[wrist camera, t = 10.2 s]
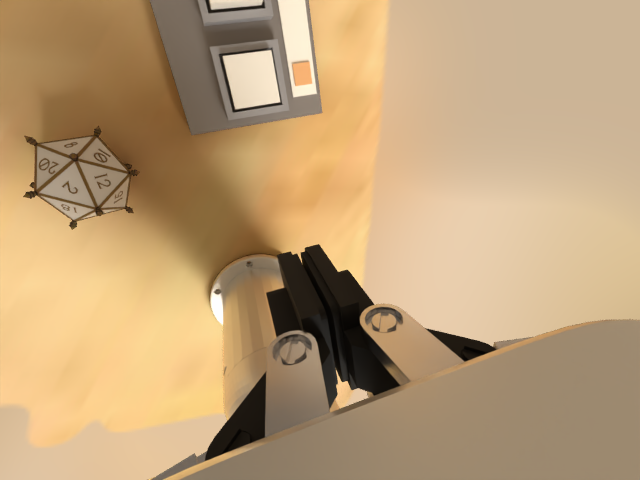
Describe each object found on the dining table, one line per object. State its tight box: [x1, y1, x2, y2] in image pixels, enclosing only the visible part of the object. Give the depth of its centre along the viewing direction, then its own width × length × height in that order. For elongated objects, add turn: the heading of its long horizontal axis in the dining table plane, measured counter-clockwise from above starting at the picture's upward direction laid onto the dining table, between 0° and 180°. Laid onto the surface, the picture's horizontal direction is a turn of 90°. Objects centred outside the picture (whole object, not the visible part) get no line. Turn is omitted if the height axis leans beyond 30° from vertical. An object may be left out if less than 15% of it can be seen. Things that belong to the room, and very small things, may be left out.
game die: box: [23, 126, 140, 230], centre depth 28 cm, size 9×8×10 cm
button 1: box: [223, 50, 280, 109], centre depth 29 cm, size 4×4×2 cm
